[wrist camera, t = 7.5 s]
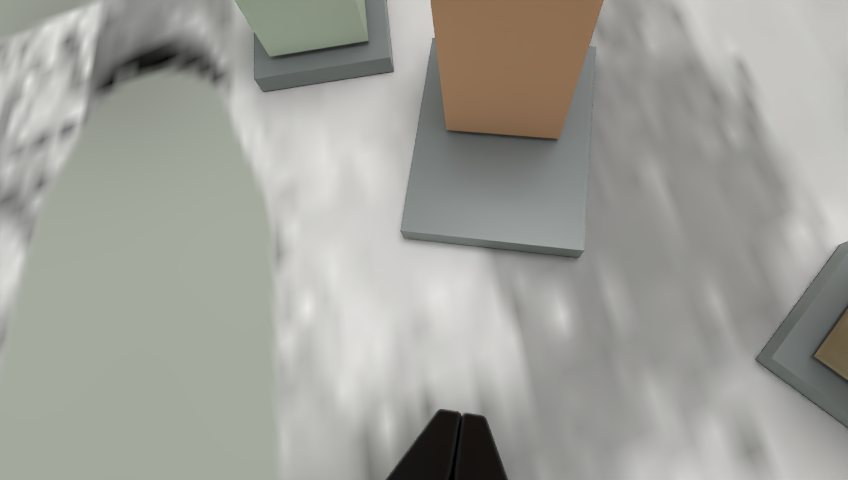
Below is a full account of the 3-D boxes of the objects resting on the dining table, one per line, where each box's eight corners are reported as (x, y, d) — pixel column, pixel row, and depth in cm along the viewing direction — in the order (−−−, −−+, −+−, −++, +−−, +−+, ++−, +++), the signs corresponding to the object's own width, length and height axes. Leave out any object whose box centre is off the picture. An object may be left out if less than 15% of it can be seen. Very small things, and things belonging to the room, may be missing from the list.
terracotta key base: (578, 257, 20) (584, 250, 19) (404, 238, 20) (400, 230, 20) (590, 61, 22) (596, 46, 21) (434, 52, 23) (432, 38, 22)
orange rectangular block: (563, 142, 20) (629, -55, 11) (442, 133, 20) (415, -61, 12) (570, 50, 21) (635, -195, 12) (455, 43, 21) (440, -192, 13)
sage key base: (393, 71, 23) (390, 57, 22) (263, 91, 23) (254, 79, 22) (383, -25, 25) (379, -42, 24) (262, -4, 25) (253, -20, 24)
